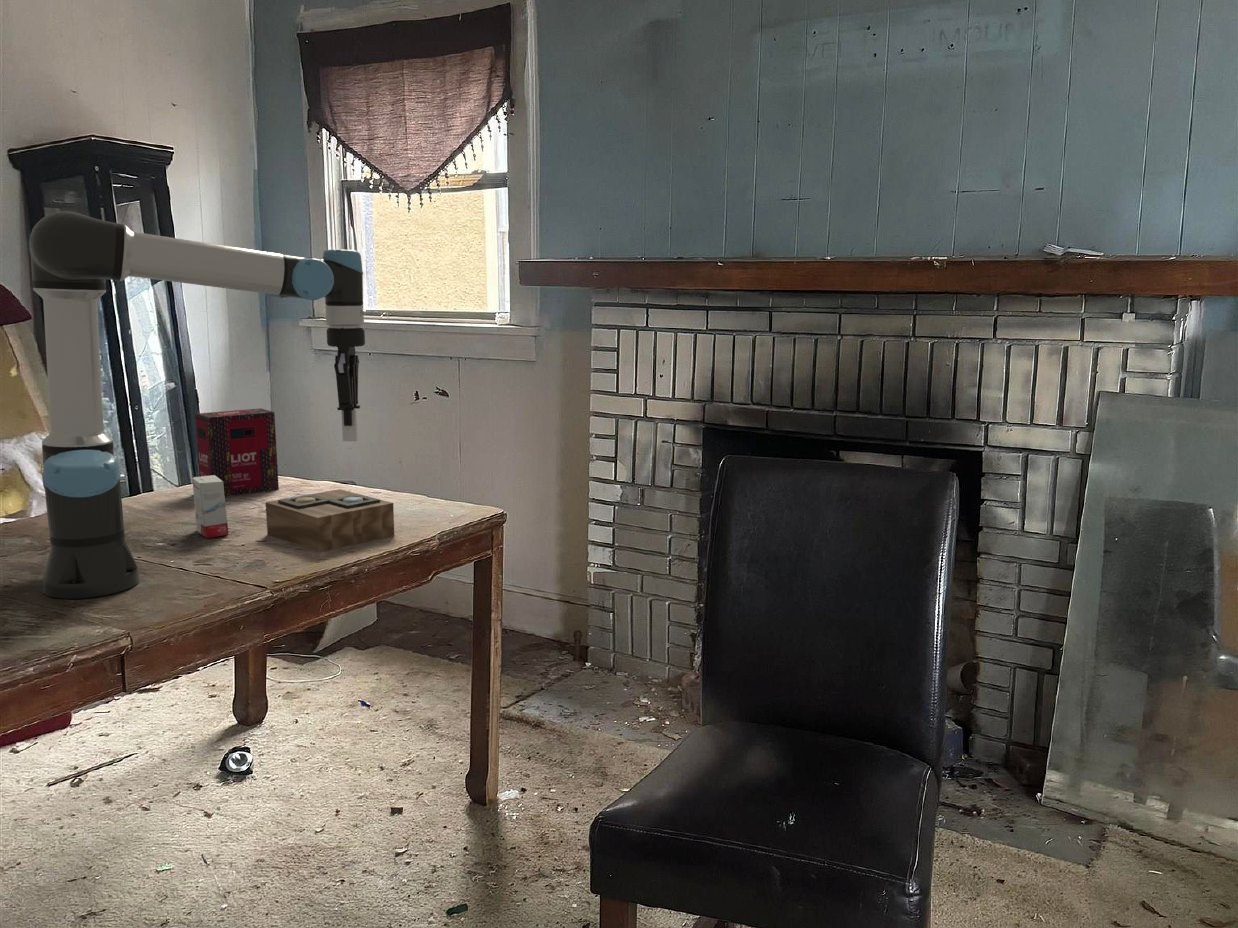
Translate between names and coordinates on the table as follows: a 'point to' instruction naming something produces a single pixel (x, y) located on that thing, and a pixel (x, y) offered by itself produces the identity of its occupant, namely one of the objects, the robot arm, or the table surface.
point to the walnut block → (330, 520)
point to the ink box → (210, 506)
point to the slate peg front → (352, 499)
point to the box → (238, 449)
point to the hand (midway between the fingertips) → (350, 440)
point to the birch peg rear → (305, 500)
